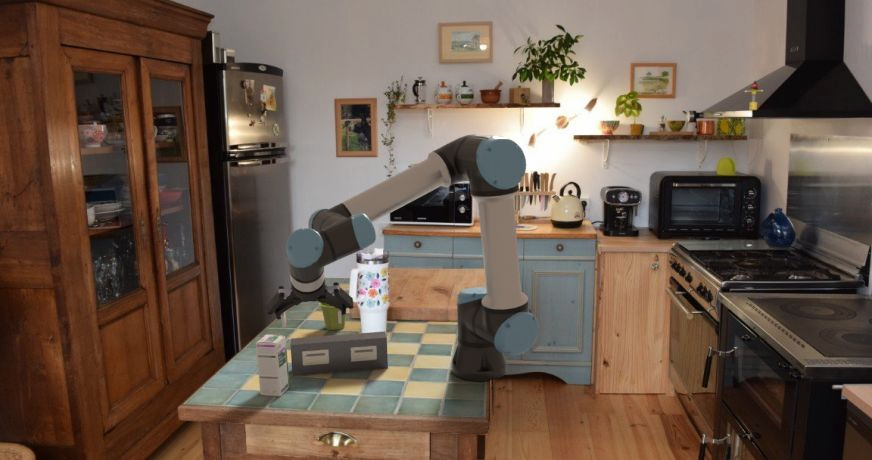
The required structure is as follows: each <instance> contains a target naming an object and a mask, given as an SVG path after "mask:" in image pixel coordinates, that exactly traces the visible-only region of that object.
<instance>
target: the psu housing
mask: <svg viewBox="0 0 872 460" xmlns="http://www.w3.org/2000/svg"><path fill="white" fill-rule="evenodd" d="M290 357H291V358H290V359H291V372H292V377H300V376H301V377H302V376H313V375H325V374H335V373H338V374H339V373H346V372H350V373H351V372H358V371H361V372H362V371H371V370H373V371H374V370H383V369H384V368H385V369H389V363H388V362H389V361H388V359H389V358H388V337H387V332H386V331H374V332H371V331H370V332H362V333H361V332H360V333H348V334H347V333H345V334H334V335H319V336H307V337H306V336H305V337H294V338H293V337H292V338H291V339H290ZM385 369H384V370H385Z"/></svg>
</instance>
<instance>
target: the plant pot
mask: <svg viewBox="0 0 872 460" xmlns="http://www.w3.org/2000/svg"><path fill="white" fill-rule="evenodd" d="M318 305H319V306H320V309H321V311H322V315H323V320H324V325H325V329H326V330H328V331H334V330H337V331H339V330H342V329H344V328H345V327H346V317H347V316H346V314H347V313H346V314H345V315H341V320H342V323H341V324H339V323H338V309H337V308H335V307H333V306H331V305H329V304H327V303H324V304H323V303H320V302H319V303H318Z"/></svg>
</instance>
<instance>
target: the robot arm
mask: <svg viewBox="0 0 872 460" xmlns="http://www.w3.org/2000/svg"><path fill="white" fill-rule="evenodd" d="M526 171H527V159H526V156H525V153H524V151H523V149H522V147H521V146H520V145H519V144H517V142H515V141H514V139H510V138H507V137H504V136H501V135H486V134H476V133H475V134H467V135H463V136H461V137H458V138H456V139H454V140H452V141H450V142H448V143H446V144H445V145H442V146H441V147H439V148H436V149H435V150H432V151H431V152H430V153H428V155H427V158H426V159H424V160H422V161H420V162H418V163H416V164H414V165H412V166H411V167H409V168H406V169H405V170H402V171H401V172H399V173H397V174H395V175H393V176H391V177H390V178H387V179H386V180H384V181H381V182H380V183H378V184H376V185H373V186H371V187H370V188H368V189H366V190H364V191H363V192H360V193H359V194H356V195H354V196H353V197H351V198H349V199H347V200H344V201H343V202H341V203H339V204H336V205H334V206H332V207H331V208H320V209H316V210H315V211H314V212H313V213H311V215H310V217H309V219H308V223H307V224H308V225H307V228H306V227H305V228H303V227H302V228H298V229H296V230H294V231H293V232H291V233H290V235H288V237H287V240H286V246H285V247H286V248H285V249H286V251H285V255H286V258H287V264H288V268H289V269H288V271H289V277H290V278H289V279H290V286H291V287H290V288H285V286H284V285H279V286H278V291H277V292H276V293H275V294H274V295H273V297H272V298H271V299H270V301H269V302H268V303H267V304H266V306H267V307H266V309H267V312H266V313H267V315H269V316H271V315H273V314H274V315H275V318H276V320H281V326H282V328H283V329H286V328H287V316H286V311H288V310H290V309H291V308H292V307H295V306H298V305H301V304H302V303H307V302H308V303H309V302H319V303H323V304H324V303H327V304H329V305H331V306H333V307H335V308H337V309H338V323H339V324H341V323H342V320H341V315H345V314H347V309H350V310H352V309H354V298H353V297H352V296H351V295H349V294H348V293H347V292H346V291H345V290H344V289H343V288H341V286H340V284H339V282H336V281H335V282H334V283H333V284H332V285H329V286H328V285H327V284H326V278H325V277H326V276H325V267H326V266H328V265H330V264H333V263H334V262H336V261H340V260H341V259H344V258H346V257H348V256H350V255H353V254H355V253H357V252H359V251H363V250H365V249H366V248H368V247H370V246H372V245H373V244H375V243H376V239H377V234H376V230H375V227H374V225H373V223H374V222H375V221H377V220H380V219H381V218H383V217H385V216H387V215H388V214H391V213H393V212H394V211H396V210H398V209H400V208H402V207H404V206H406V205H408V204H410V203H411V202H414V201H415V200H417V199H419V198H421V197H423V196H425V195H427V194H428V193H431V192H432V191H434V190H436V189H438V188H440V187H443V188H448V187H451V186H452V185H455V184H457V183H462V182H468V183H469V192H470V196H471V197H472V198H473V199H474V200H475V201H476V202H477V207H478V219H479V227H480V228H479V229H480V239H481V249H482V258H483V270H484V278H485V279H484V280H485V286H479V287H478V286H475V287H474V286H473V287H470V288H464V289H462V290H461V291H459V293H458V294H457V298H456V300H457V301H456V307H457V308H456V309H457V314H456V315H457V318H456V319H457V344H456V348H455V352H454V354H453V358H452V361H451V371H452V374H453V375H454V376H456V377H458V378H460V379H462V380H466V381H472V382H488V381H493V380H498V379H500V378H502V377H504V376H505V375H506V374H508V373H507V372H508V361H507V358H506V355H508V356H519V355H522V354H524V353H526V352H527V351H529V350H530V349H531V348H532V346H533V344H535V343H536V342H537V339H538V337H539V333H540V324H539V321H538V319H537V317H536V316H535V314H533V313H532V312H530V306H529V298H528V296H527V295H526V293H524V292H522V286H521V284H522V283H521V274H520V261H519V250H518V240H517V239H518V238H517V237H518V236H517V226H516V214H515V203H514V202H515V201H514V198H515V196H516V195H517V194H518V193H519V191H520V186H519V185H520V183H521V181H522V180H523V177H524V176H525V173H526ZM505 354H506V355H505Z"/></svg>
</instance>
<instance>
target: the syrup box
mask: <svg viewBox="0 0 872 460" xmlns="http://www.w3.org/2000/svg"><path fill="white" fill-rule="evenodd" d="M255 349H256V350H255V351H256V352H255V353H256V360H257V362H256V363H257V372H258V381H259V392H260V396H265V397H282V395H283V394H284V393H285V392H286V391H287V390H288V389H290V387H291V386H290V384H291V383H290V374H289V373H290V372H289V364H288V363H289V361H288V352H287V351H288V350H287V340H286V335H283V334H264V336H263V337H261V338H260V339H259V340H258V341H256V342H255Z"/></svg>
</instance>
